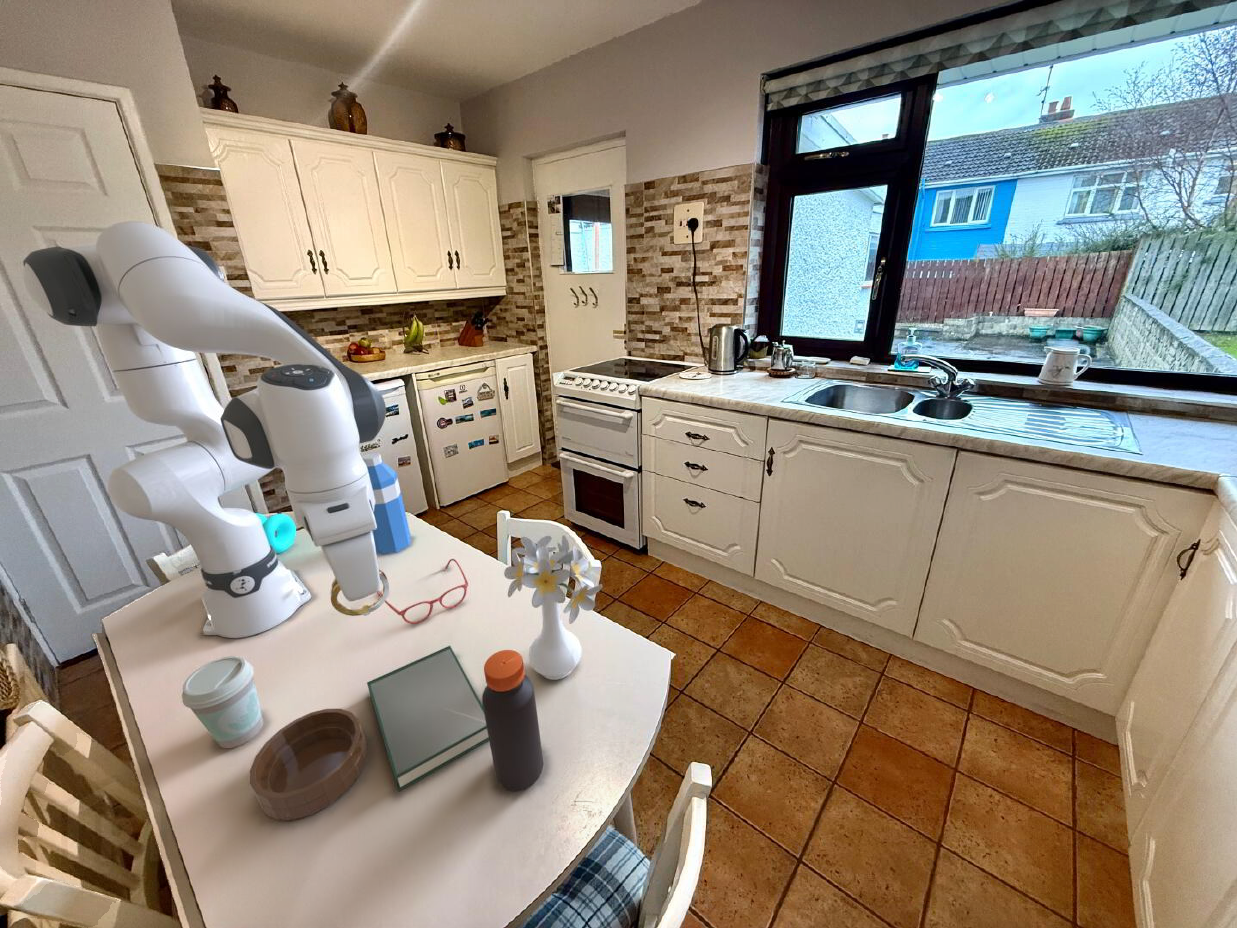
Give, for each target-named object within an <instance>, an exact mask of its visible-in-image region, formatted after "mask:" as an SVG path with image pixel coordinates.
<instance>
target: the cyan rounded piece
mask: <svg viewBox="0 0 1237 928" xmlns="http://www.w3.org/2000/svg"><path fill="white" fill-rule="evenodd" d="M254 513H255V514H256V515H257V516H258V517H259V518H260V520H261V523H262V526H263V528H264V531H265V534H266V537H267V540H268V542H269V545H271V546H272V547H273V549H274V550H275V552H276V554H281V553H284V552H285V551H287V550H288V549H290V547H291V546H292V545H293V543H294V541H295V539H296V535H297V527H296V523H295V521H294V520H293V518H292V517H290V516H289V515H287V514H285V513H282V514H277V513H276V514H273V515H270V516H269V517H266V516H265V515H264V514H262V513H259V512H254Z"/></svg>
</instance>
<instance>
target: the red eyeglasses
mask: <svg viewBox="0 0 1237 928" xmlns="http://www.w3.org/2000/svg"><path fill="white" fill-rule="evenodd" d="M451 562H454V563H455V565H457V567H458V569H459V570H460V573H461V575H462V577H463V579H464V584H460V585H457V586H455V587H452V588H450V589H448V590H447V591H445V592H444V593H442V594H441V595H440V596H439V597H437V598H435V599H431V600H424V601H420V602H416V603H414V604H412V605H410V606H408V607H405V608H404V609H402V610H398V609H397V608H396V607H395V606H393V605H392V604H391V603H389V601H387V599H386V600H385V602H384V603H385V604H386V605H387V606H388V607H389V608H390V609H391V610H392V611H393V612H395V613H396V614H397V615H398V616H401V617H402V619H403V621H404V622H406V623H407V624H411V625H417V624H420V623H422V622H425V621H426V620H427V619H428V618H429V617H430V616H431V614H432V612H433V610H434V604H436V603H439V604H440V606H441V607H443V608H444V609H449V610H450V609H454V608H456V607H457V606H458V607H459V605H460V604H461V603H462V602H464V600H465V598H466V597H467V596H466V595H467V592H468V586H469V581H468V579H467V577H466V575H465V572H464V571H463V569H462V567H461V566H460V564H459V562H458V561H457V560H456V559H455V558H451V559H449V560H448V562H447V563H446V565H445V570H448V569H449V566H450V563H451ZM460 588H463V591H464V592H463V595H462V597H461V598H460V600H459V601H458V602H457V603H456V604H454V605H450V606H447V605H445V604H443V598H444V597H445V596H446V595H447V594H449V593H450V592H453V591H455V590H457V589H460ZM376 594H377V595H378V597H380V596H381V595H382V592H381V591H380V590H379V591H378V592H377V593H376ZM423 604H428V605H429V611H428V613H427V614H426V615H425V616H424V618H422V619H420V620H418V621H410V620H408V619H407V618H406V616H405V615H406V613H407V611H409V610H410V609H412V608H414V607H416V606H420V605H423Z"/></svg>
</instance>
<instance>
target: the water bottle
mask: <svg viewBox="0 0 1237 928" xmlns="http://www.w3.org/2000/svg"><path fill="white" fill-rule="evenodd" d="M361 457H362V459H363V460H364V462H365V464H366V466H367V469H368V473H369V477H370V481H371V485H372V489H373V493H374V497H375V501H376V503H375V506H374V515H375V519H376V524H377V529H376V530H373V531H372V532H373V536H374V542H375V548H376V553H378V554H380V555H387V554H388V555H389V554H394V553H398V552H400V551H402V550H403V549H405V548H407V547H409V546H410V545H411V541H412V535H411V532H410V526H409V523H408V517H407V514H406V509H405V505H404V501H403V496H402V491H401V487H400V483H399V482H400V481H399V479H398V473H397V470H394V469H393V468H392V467H390V466H389V465H388V464H386V463H385V462H384V461H383V460H382V456H381V453H379V452H369V453H366V454H363V455H362V456H361Z"/></svg>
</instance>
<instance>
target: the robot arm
mask: <svg viewBox="0 0 1237 928" xmlns="http://www.w3.org/2000/svg"><path fill="white" fill-rule="evenodd" d="M22 264H23V272H22V275H23V276H22V277H23V283H24V285H25V288H26V291H27V293H28V294H29V296H30V297H31V298H32V300H33V301H34V302H35V303H36V304H37V305H38V307H39V308H41V310H43V311H44V312H46V314H47V315H48V316H49V317H50V319H52V320H55V321H56V322H58V323H61V324H63V325H66V326H73V327H96V331H97V335H98V340H99V342H100V345H101V348H102V351H103V353H104V356H105V359H106V361H107V364H108V366H109V368H110V370H111V373H112V375H113V377H114V378H115V382H116V383H117V385H118V387H119V389H120V391H121V393H122V396H123V398H124V400H125V403H126V404H127V406H128V408H129V410H130V411H131V413H132V414H133V415H135V417H137V418H139V419H140V420H142V421H144V422H147V423H150V424H154V425H161V426H167V427H168V426H169V427H176V428H178V429H179V430H180V431H181V432H182V433H183V435H184V436H185V438H186V441H185V442H182V443H179V444H175V445H172V446H169V447H165V448H162V449H158V450H155V451H152V452H148V453H145V454H142V455H140V456H138V457H136V458H134V459H132V460H129V461H128V462H126V463H124V464H121V465H120V466H118V467H116V468H114V469H113V470H112V472H111V473H110V475H109V478H108V483H107V490H108V495H109V497H110V499H111V502H113V504H114V505H115V506H116V508H118V509H119V510H120V511H122V512H123V513H125V514H127V515H128V516H130V517H134V518H137V519H141V520H147V521H154V522H159V523H162V524H165V525H168V526H169V527H172V528H174V529H175V530H177V531H178V532H180V533H181V534H182V535H183V537H185V539H186V540H187V541H188V543H189V544H190V546H191V548H192V550H193V552H194V554H195V555H196V557H197V560H198V562H199V564H200V566H201V568H200V574H201V577H202V580H203V582H204V583H205V585H206V587H207V588H206V589H205V591H204V593H203V595H202V596H201V601H202V604H203V607H204V609H205V612H206V614H207V619H206V622H205V623H204V624H203V627H202V634H203V635H204V636H221V637H223V638H226V639H227V638H229V639H240V638H246V637H251V636H255V635H258V634H261V633H263V632H266V631H268V630H271V629H273V628H275V627H276V626H279V625H280V624H282V623H284V622H285V621H286V620H287V619H289V618H290V617H291V616H293V615H294V613H295V612H296V611H297V610H298V609H299V608H300V607H301V606H303V605H305V604H306V603H307V602H308V601H310V600H311V599H312V595H311V593H310V591H309V590H308V589H307V587H306V586H305V585H304V583H303V582H302V581H301V580H300V578H299V577H298V575H297V574H296V573H295V571H293V569H287V568H286V566H285V565H284V564H283V563H282V562H281V561H280V560H279V558H278V555H277V553H276V552H275V550H274V549H273V547H272V546H271V545H269V542H268V540H267V537H266V534H265V531H264V528H263V526H262V523H261V520H260V518H259V517H258V516H257V515H256V514H255V513H256V512H253V511H251V510H249V509H247V508H240V507H222V506H221V504H220V503H219V497H221V496H222V495H224V494H227V493H229V492H232V491H235V490H237V489H239V488H242V487H244V486H247V485H249V484H252V483H254V482H256V481H258V480H259V479H261V478H262V477H265V476H266V475H267V474H269V473H270V472H272V471H273V470H275V469H280V470H282V472H283V475H284V487H285V490H286V493H287V497H288V499H289V502H290V505H291V509H292V512H293V515H294V518H295V521H296V523H297V524H298V525H299V526H302V528H304V530H306V532H308V534H309V536H310V538H311V541H312V542H313V543H314V546H315V547H316V548H317V547H320V548H321V550H322V552H323V554H324V556H325V559H326V561H327V563H328V565H329V567H330V570H331V572H332V574H333V575H334V579H335V578H336V580H337V583H338V585H339V587H340V589H341V590H340V592H341V593H342V595H343V596H344V598H345V599H346V600H347V601H348V602H355V601H359V600H362V599H365V598H367V597H369V596H371V595H374V594H377V592H378V591H380V588H381V580H380V575H379V569H380V568H379V562H378V555H377V552H376V548H375V542H374V536H373V532H372V531H373V530H376V529H377V524H376V519H375V515H374V506H375V503H376V501H375V497H374V493H373V489H372V485H371V481H370V477H369V473H368V469H367V466H366V464H365V462H364V460H363V459H362V457H363V456H362V455H361V452H360V444H364V443H368V442H372V441H373V440H375V438H376V437H377V436H378V434H379V433H380V431H381V430H382V428H383V426H384V423H385V420H386V416H387V406H386V402H385V399H384V397H383V395H382V393H381V391H380V389H378V388H377V386H376V385H375V384H374V383H373V382H371V380H369V379H368V378H367V377H365V376H363V375H362V374H360V373H359V372H358V371H355V370H354V369H352V368H350V367H349V366H347V365H345V364H344V363H342V362H341V361H340V360H339V359H338V358H336V357H335V356H334V355H333V354H332V353H331V352H329V351H328V350H327V349H326V348H325V347H323V346H322V345H321V344H320V343H319V342H318V341H317V340H315V339H314V338H313V337H312V336H310V334H308V332H306V331H305V330H303V329H302V328H301V327H300V326H299V325H298V324H296V323H295V322H294V321H292V319H290V318H289V317H287V315H285V314H284V313H283V312H281V311H279V310H278V309H277V308H275V307H274V306H272V305H269V304H267V303H264V302H261V301H259V300H257V299H254V298H252V297H250V296H248V295H246V294H244V293H242V292H241V291H239V290H237V289H235V288H234V287H232V286H230V285H229V284H227V283H226V279H225V276H224V274H223V272H222V270H221V268H220V266H219V265H218V263H217V262H216V260H215V259H214V258H213V257H212V256H211V255H210V254H209V253H207V252H206V250H204V249H202V248H199V247H196V246H192V245H185V244H184V243H183V242H182V241H181V240H180V239H178V238H177V237H175V236H174V235H172V233H170V232H168V231H167V230H166V229H163V228H161V227H159V226H157V225H155V224H151V223H148V222H144V221H135V220H133V221H132V220H129V221H121V222H118V223H114V224H112V225H110V226H108V227H107V228H105V229H104V230H103V231H102V232H101V233H100V234H99V236H98V237H97V239H96V244H95V245H84V246H83V245H82V246H74V247H63V246H52V247H46V248H42V249H37V250H34V251H31V252H30V253H29V254H28V255H27V256H26V257H25V258H24V259H23V261H22ZM195 353H198V354H199V353H200V354H232V355H247V356H254V357H260V358H261V357H262V358H266V359H268V360H273V361H275V362H277V363H279V364H281V365H280V366H276V367H273V368H270V369H268V370H266V371H264V372H263V373H262V374H260V375H259V376H258V378H257V381H256V384H257V385H256V386H257V387H256V388H254V389H251V390H249V391H247V392H244V393H242V394H240V395H237V396H233V397H232V399H230V400H229V402H228V403H227V404H226V406H225V408H224V407H223V406H222V405H221V404H220V402H219V401H218V400H217V398H216V397H215V394H214V393H213V391H212V389H211V387H210V385H209V383H208V381H207V379H206V376H205V374H204V372H203V370H202V368H201V365H200V363H199V361H198V359H197V356H196V354H195ZM276 514H283V513H282V511H281V510H278V511H277V512H276ZM378 593H379V592H378Z"/></svg>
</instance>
